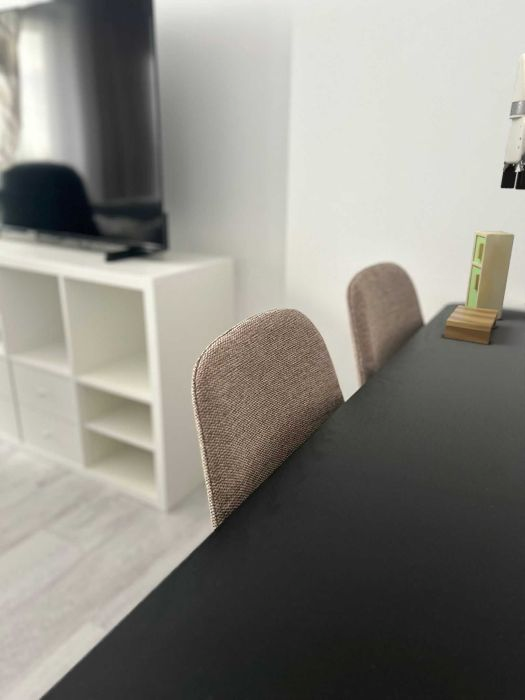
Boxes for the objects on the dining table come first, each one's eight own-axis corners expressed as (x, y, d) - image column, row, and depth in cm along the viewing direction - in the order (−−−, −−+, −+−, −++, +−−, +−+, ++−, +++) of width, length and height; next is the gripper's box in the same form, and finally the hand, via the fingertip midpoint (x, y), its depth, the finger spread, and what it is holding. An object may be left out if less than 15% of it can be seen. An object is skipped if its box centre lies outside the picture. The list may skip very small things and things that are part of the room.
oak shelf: (456, 320, 127) (458, 305, 125) (495, 326, 122) (498, 310, 121) (444, 337, 113) (446, 320, 112) (487, 344, 109) (491, 326, 108)
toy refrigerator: (460, 310, 136) (472, 230, 129) (488, 311, 136) (502, 230, 129) (471, 319, 128) (484, 233, 121) (500, 319, 128) (515, 234, 121)
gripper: (561, 107, 110) (545, 190, 116) (529, 115, 127) (516, 188, 132) (525, 107, 111) (511, 189, 116) (498, 115, 127) (486, 187, 133)
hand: (514, 189), depth 124 cm, fingers open, 9 cm apart
